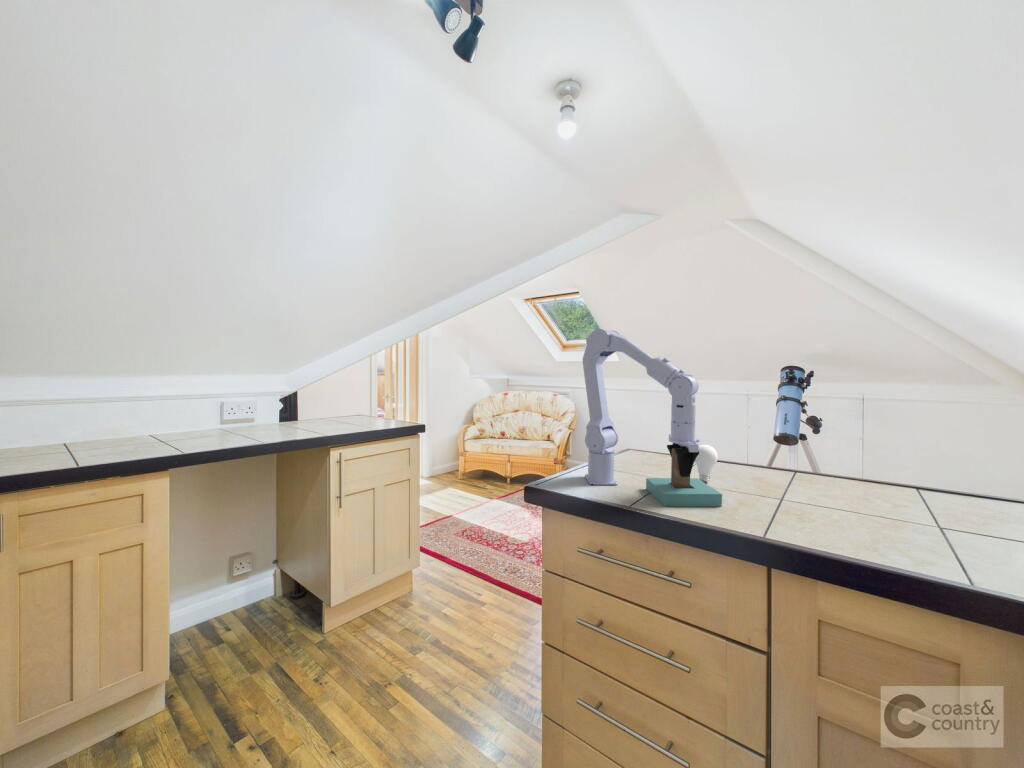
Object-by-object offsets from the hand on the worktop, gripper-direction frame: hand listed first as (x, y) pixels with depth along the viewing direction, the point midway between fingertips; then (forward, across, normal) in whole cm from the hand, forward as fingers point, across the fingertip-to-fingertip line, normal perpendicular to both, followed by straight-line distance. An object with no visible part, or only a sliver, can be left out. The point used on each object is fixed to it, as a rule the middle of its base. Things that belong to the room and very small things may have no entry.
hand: (682, 474), depth 108 cm
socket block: (+6, 0, 0) cm, 6 cm away
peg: (+3, 0, 0) cm, 4 cm away
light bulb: (+6, +14, -12) cm, 19 cm away
